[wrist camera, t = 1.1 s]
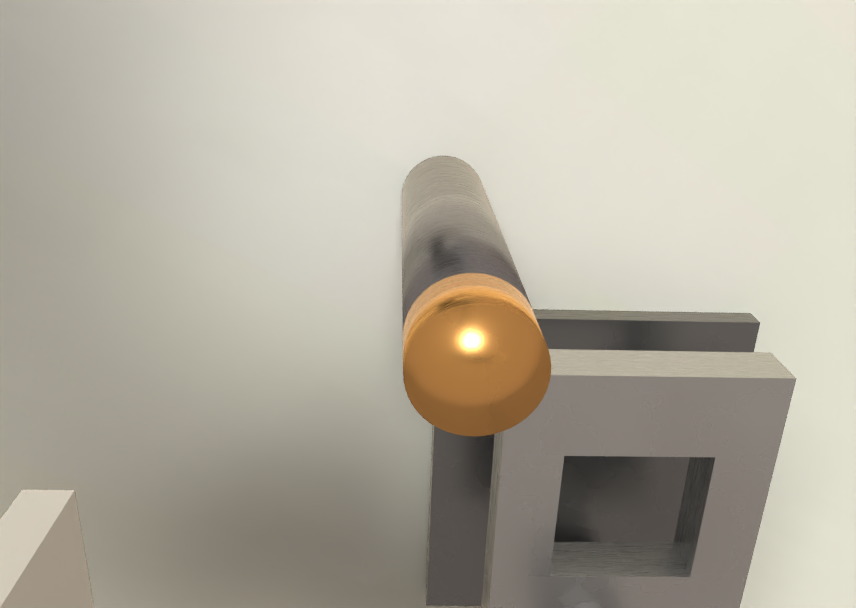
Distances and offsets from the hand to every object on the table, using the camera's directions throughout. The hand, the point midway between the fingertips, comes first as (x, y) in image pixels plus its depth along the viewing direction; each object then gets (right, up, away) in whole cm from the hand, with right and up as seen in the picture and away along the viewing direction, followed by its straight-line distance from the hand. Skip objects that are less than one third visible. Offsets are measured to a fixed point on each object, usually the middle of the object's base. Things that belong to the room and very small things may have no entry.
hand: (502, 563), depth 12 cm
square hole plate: (+6, -4, +25) cm, 26 cm away
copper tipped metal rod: (-1, +9, +20) cm, 22 cm away
